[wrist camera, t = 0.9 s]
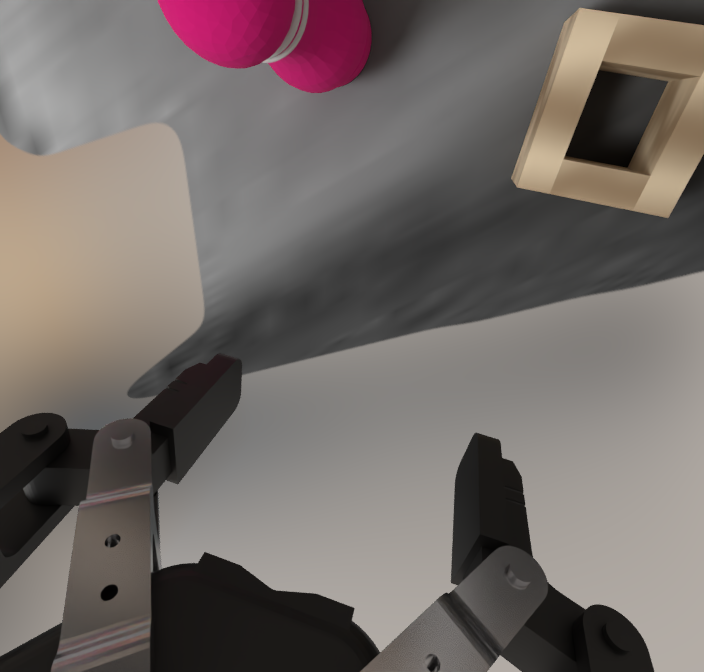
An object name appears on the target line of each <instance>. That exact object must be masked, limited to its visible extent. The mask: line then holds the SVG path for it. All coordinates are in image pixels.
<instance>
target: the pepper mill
mask: <svg viewBox="0 0 704 672" xmlns="http://www.w3.org/2000/svg"><path fill="white" fill-rule="evenodd" d="M158 3H159V5H160V7H161V9H162V11H163V13H164V15H165V18H166V19H167V21H168V22H169V24H170V26H171V27H172V29H173V30H174V32H175V33H176V34H177V35H178V37H179V38H180V39H181V40H182V41H183V42H184V43H185V45H186V46H188V47H189V48H190V49H191V50H193V51H194V52H195V53H197V54H198V55H199V56H201V57H202V58H204V59H206V60H207V61H209V62H212V63H214V64H217V65H219V66H223V67H227V68H248V67H251V66H255V65H258V64H260V63H268V64H269V65H270V66H271V67H272V69H273V70H274V71H275V72H276V74H277V75H278V76H279V77H280V78H281V79H282V80H284V81H285V82H287V83H288V84H289V85H291V86H293V87H296V88H298V89H300V90H302V91H306V92H310V93H322V92H327V91H330V90H333V89H335V88H337V87H340V86H343V85H346V84H348V83H349V82H351V81H352V80H353V79H354V78H355V77H357V76H358V75H359V73H360V72H361V71H362V69H363V68H364V66H365V64H366V62H367V59H368V56H369V53H370V49H371V26H370V20H369V17H368V14H367V12H366V10H365V7H364V4H363V1H362V0H158Z"/></svg>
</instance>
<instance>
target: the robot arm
mask: <svg viewBox="0 0 704 672" xmlns="http://www.w3.org/2000/svg"><path fill="white" fill-rule="evenodd" d="M241 377H242V361H241V360H240V359H238V358H234V357H231V356H228V355H225V354H221V353H219V354H217V355H216V356H215V357H214V358H213V359H212V360H211V361H210V362H209V363H208V364H207V365H206V364H203V363H198V364H196V365H194V366H192V367H190V368H188V369H185V370H184V371H183V372H182V373H181V374H180V375H179V376H178V377H177V378H176V379H175V381H173V382H172V383H170V384H169V385H168V386H167V388H166V389H164V390H163V391H162V392H161V393H160V394H159V395H158V396H156V397H155V399H153V400H152V401H151V402H150V403H149V404H148V405H147V406H146V407H145V408H144V409H143V410H141V411H140V412H139V413H138V414H137V415H136V416H135V417H134V418H133V419H132V418H129V419H128V418H127V419H120V420H116V421H114V422H111V423H109V424H107V425H105V426H104V427H103V428H101V429H100V430H85V429H68V427H67V423H66V421H65V419H64V418H63V417H62V416H60V415H57V414H53V413H39V414H34V415H30V416H27V417H25V418H22V419H20V420H18V421H16V422H15V423H13V424H12V425H11V426H9V427H8V428H7V429H5V430H4V431H3V432H1V433H0V588H1V587H2V586H3V585H4V584H5V583H6V581H7V580H8V579H9V578H10V577H11V576H12V575H13V574H14V572H15V571H16V570H17V569H18V568H19V567H20V566H21V565H22V564H23V562H24V561H25V560H26V559H27V558H28V557H29V556H30V555H31V554H32V552H33V551H34V550H35V549H36V548H37V547H38V546H39V545H40V544H41V542H42V541H43V540H44V539H45V538H46V537H47V536H48V535H49V533H51V531H52V530H53V529H54V528H55V527H56V526H57V525H58V524H59V522H60V521H61V520H62V519H63V518H64V517H65V516H66V515H67V514H68V513H69V511H70V510H71V509H72V508H73V507H74V506H75V505H76V506H79V508H78V514H77V522H76V529H75V536H74V542H73V550H72V557H71V564H70V571H69V578H68V585H67V592H66V599H65V607H64V613H63V620H62V623H60V624H59V625H57V626H55V627H53V628H51V629H49V630H48V631H46V632H44V633H42V634H40V635H39V636H37V637H35V638H33V639H31V640H29V641H28V642H26V643H24V644H22V645H20V646H19V647H17V648H15V649H13V650H11V651H9V652H8V653H6V654H4V655H2V656H0V672H487V671H488V670H489V668H490V667H491V666H492V665H493V663H494V662H495V661H496V660H497V658H498V657H499V655H501V656H502V657H504V658H505V659H506V660H508V661H509V662H510V663H511V664H513V665H514V666H515V667H517V668H518V669H519V670H520V671H522V672H654V669H653V666H652V662H651V658H650V655H649V652H648V649H647V646H646V644H645V642H644V640H643V638H642V636H641V635H640V633H639V632H638V631H637V629H636V628H635V627H634V626H633V624H632V623H631V622H630V621H629V620H628V619H627V618H625V617H624V616H623V615H622V614H620V613H619V612H617V611H616V610H614V609H612V608H610V607H607V606H604V605H592V606H590V607H588V608H587V609H586V610H585V609H584V608H582V607H581V606H579V605H578V604H576V603H575V602H573V601H572V600H570V599H569V598H567V597H566V596H564V595H563V594H561V593H560V592H559V591H557V590H556V589H555V588H553V587H552V586H551V585H550V584H549V583H548V582H547V579H546V576H545V574H544V572H543V570H542V568H541V566H540V565H539V564H538V562H537V561H536V560H535V559H534V558H533V556H532V550H531V542H530V535H529V528H528V522H527V514H526V507H525V500H524V495H523V484H522V477H521V475H520V473H519V471H518V470H517V468H516V466H515V464H514V463H513V461H510V460H507V459H503V458H502V453H501V443H500V441H499V440H498V439H495V438H492V437H488V436H485V435H482V434H479V433H475V434H474V435H473V437H472V439H471V441H470V443H469V445H468V448H467V450H466V452H465V454H464V456H463V458H462V460H461V462H460V465H459V467H458V470H457V474H456V479H455V495H454V498H455V499H454V520H453V545H452V546H453V547H452V570H451V583H453V584H456V585H458V586H457V587H456V588H455V589H454V590H453V591H452V592H450V593H449V594H448V593H445V594H443V595H442V596H441V597H439V598H438V599H437V600H436V601H435V602H434V603H433V604H432V605H431V606H430V607H429V608H428V609H426V610H425V611H424V612H423V613H422V614H421V615H420V616H419V617H418V618H417V619H416V620H415V621H414V622H413V623H411V624H410V625H409V626H408V627H407V628H406V629H405V630H404V631H403V632H402V633H401V634H400V635H399V636H398V637H397V638H396V639H394V641H392V642H391V643H390V644H389V645H388V646H387V647H386V648H385V649H384V650H383V651H382V652H379V650H378V648H377V647H376V645H375V644H374V642H373V641H372V640H371V639H370V638H369V636H368V635H367V634H366V633H365V632H364V631H363V630H362V629H361V628H360V627H359V626H358V625H357V624H355V623H354V622H353V621H352V617H353V612H354V608H353V607H350V606H347V605H345V604H342V603H339V602H337V601H334V600H331V599H329V598H326V597H323V596H321V595H318V594H312V593H299V592H287V591H276V590H273V589H271V588H269V587H268V586H267V585H265V584H264V583H263V582H261V581H260V580H259V579H258V578H256V577H255V576H254V575H252V574H251V573H250V572H248V571H247V570H246V569H244V568H243V567H242V566H240V565H238V564H235V563H233V562H230V561H227V560H224V559H222V558H219V557H217V556H214V555H211V554H209V553H206V552H204V554H203V556H202V557H201V559H200V561H199V563H188V564H179V565H174V566H170V567H167V568H163V569H162V565H161V552H160V525H159V493H158V489H159V488H160V486H161V485H162V484H163V483H164V482H165V480H167V481H170V482H173V483H176V484H179V482H180V481H181V480H182V478H183V477H184V476H185V474H186V473H187V472H188V470H189V469H190V468H191V467H192V465H193V464H194V463H195V462H196V460H197V459H198V457H199V456H200V455H201V454H202V452H203V451H204V450H205V449H206V447H207V446H208V445H209V443H210V442H211V441H212V439H213V438H214V437H215V436H216V434H217V433H218V432H219V430H220V429H221V428H222V426H223V425H224V424H225V423H226V421H227V420H228V419H229V417H230V416H231V415H232V413H233V412H234V411H235V409H236V407H237V405H238V403H239V400H240V396H241Z"/></svg>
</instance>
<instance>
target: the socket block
mask: <svg viewBox="0 0 704 672" xmlns="http://www.w3.org/2000/svg"><path fill="white" fill-rule="evenodd" d="M598 70H601V71H607V72H613V73H620V74H626V75H632V76H638V77H645V78H651V79H657V80H663V81H669V82H668V84H667V86H666V88H665V90H664V92H663V94H662V96H661V98H660V100H659V103H658V105H657V107H656V109H655V111H654V113H653V115H652V117H651V119H650V121H649V124H648V126H647V128H646V130H645V132H644V134H643V136H642V138H641V140H640V142H639V145H638V147H637V149H636V151H635V153H634V155H633V157H632V159H631V161H630V164H629V166H628V168H626V167H621V166H616V165H610V164H605V163H600V162H595V161H589V160H584V159H579V158H573V157H568V156H565V154H566V151H567V149H568V146H569V144H570V141H571V139H572V136H573V134H574V131H575V128H576V126H577V123H578V121H579V118H580V116H581V113H582V111H583V108H584V106H585V103H586V101H587V98H588V96H589V93H590V90H591V88H592V85H593V83H594V80H595V78H596V75H597V73H598ZM703 154H704V25H698V24H691V23H683V22H676V21H669V20H662V19H655V18H648V17H641V16H634V15H627V14H619V13H612V12H605V11H598V10H591V9H584V8H579V9H578V10H577V11H576V12H575V13H574V14H573V15H572V16H571V17H570V18H569V19H568V20H566V21H565V22H564V25H563V28H562V31H561V34H560V37H559V40H558V43H557V46H556V49H555V51H554V54H553V57H552V60H551V63H550V66H549V69H548V72H547V75H546V78H545V81H544V84H543V87H542V90H541V93H540V96H539V99H538V101H537V104H536V107H535V110H534V113H533V116H532V119H531V122H530V125H529V128H528V131H527V134H526V137H525V140H524V143H523V146H522V148H521V151H520V154H519V157H518V160H517V163H516V166H515V169H514V172H513V175H512V180H513V182H514V183H515V185H516V186H517V187H518V188H523V189H528V190H533V191H538V192H543V193H548V194H553V195H558V196H563V197H568V198H573V199H578V200H582V201H587V202H592V203H597V204H602V205H607V206H612V207H617V208H622V209H627V210H632V211H637V212H642V213H646V214H651V215H656V216H661V217H666V218H668V217H669V215H670V214H671V212H672V210H673V208H674V206H675V205H676V203H677V201H678V199H679V197H680V196H681V194H682V192H683V190H684V189H685V187H686V185H687V183H688V181H689V180H690V178H691V176H692V174H693V172H694V171H695V169H696V167H697V165H698V163H699V162H700V160H701V158H702V156H703Z"/></svg>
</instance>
